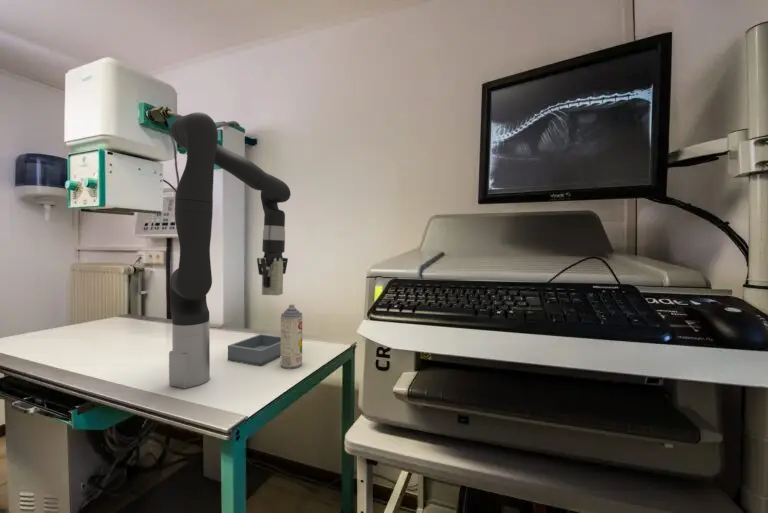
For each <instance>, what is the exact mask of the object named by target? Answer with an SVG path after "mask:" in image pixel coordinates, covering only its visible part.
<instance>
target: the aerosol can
mask: <svg viewBox="0 0 768 513" xmlns="http://www.w3.org/2000/svg"><path fill="white" fill-rule="evenodd" d="M280 315H281V316H280V337H281V357H280V368H281V369H284V370H285V369H286V370H293V369H298V368H301V366H303V313H302V312H300V311H299V309H297V308H296V307H295V304H293V303H290V304H289V305H288V308H286V310H284V312H283V313H281V314H280Z"/></svg>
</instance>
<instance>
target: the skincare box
mask: <svg viewBox="0 0 768 513" xmlns="http://www.w3.org/2000/svg"><path fill="white" fill-rule="evenodd" d="M273 265H274V266H273V271H271V275H270V287H269V288H266V287H264V286H263V276H262V275H261V295H262V296H281V295H283V292H284V291H283V289H284V274H283V261H274V264H273ZM266 267H267V268H269V266H267V265H266ZM262 271H263V269H262ZM267 273H268V270H267Z"/></svg>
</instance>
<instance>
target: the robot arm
mask: <svg viewBox="0 0 768 513" xmlns="http://www.w3.org/2000/svg"><path fill="white" fill-rule="evenodd" d="M216 124H217V123H216V122H215V121H214V120H213V118H212V117H211V116H210V115H208V114H207V113H204V112H199V111H197V112H192V113H189V114H186V115H183V116H180V117H178V118H175V119H174V120H173V121H172V123H171V125H170V134H171V136H172V138H173V140H174V141H175V143H177V145H178V146H180V147H181V148H183V149H185V150H186V162H185V166H184V169H183V172H182V175H181V176H180V179H179V182H178V185H177V187H176V190H175V196H174V198H175V199H174V222H175V228H176V233H177V237H178V238H177V239H178V243H179V258H178V260H179V262H178V267H177V269H175V270H174V271H173V273H172V274H171V277H170V279H169V300H170V301H169V302H170V304H169V305H170V308H169V309H170V313H171V314H170V315H171V323H172V328H171V329H172V331H171V332H172V346H171V347H172V350H170V351H169V353H168V374H169V376H168V382H169V383H168V384H169V386H172V387H175V388H181V389H183V390H184V389H188V388H192V387H196V386H200V385H203V384H205V383H207V382H209V380H210V374H211V373H210V372H211V370H210V369H211V366H210V364H211V362H210V359H211V358H210V357H211V356H210V352H211V351H210V350H211V349H210V348H211V347H210V344H211V343H210V342H211V340H210V338H211V337H210V327H211V326H210V310H209V308H208V303H207V295H208V293H209V292H210V291H211V288H212V285H213V276H212V266H211V265H212V264H211V240H212V230H213V229H212V228H213V227H212V226H213V209H214V206H213V205H214V204H213V203H214V194H213V193H214V176H215V175H214V172H215V170H214V169H215V165H216V166H217V167H219V168H221V169H223V170H224V171H225V172H228V173H230V174H231V175H232V176H234V177H235V178H236V179H238V180H240V181H241V182H242V183H244V184H245V185H246V186H248V187H250V188H251V189H253V190H255V191H260V200H261V201H260V202H261V205H262V206H261V207H262V210H263V213H264V218H263V219H264V220H263V230H262V249H261V250H262V252H263V256H262V257H257V258H256V263H257V264H256V265H257V270H258V275H259V276H261V277H262V276H263V286H264V287H266V288H269V287H270V275H271V271H273V266H274V265H273V264H274V261H283V275H284V274H286V272H287V266H288V260H289V259H288V257H284V256H283V254H284V253H285V248H286V247H285V246H286V228H285V227H286V214H285V212H284V210H282V209H280V208H279V205H278V204H280V203H285V202H287V201H288V200H289V199H290V198H291V189H290V187H289V186H288V185H287V183H286V182H284V181H283V180H282V179H280V178H278V177H276V176H274V175H272V174H269V173H267V172H265V170H263V169H262V168H260V167H259V166H258V165H257V164H255V163H254V162H253V161H252V160H250V159H249V158H246V157H244V156H242V155H240V154H238V153H236V152H233V151H231V150H229V149H227V148H225V147H224V146H222V145H220V144H219V142H218V141H219V135H218V134H219V133H218V127H217V125H216ZM266 265H267V266H269V268H267V267H266ZM262 269H263V271H262ZM267 270H268V273H267Z"/></svg>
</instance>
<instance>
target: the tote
mask: <svg viewBox="0 0 768 513" xmlns="http://www.w3.org/2000/svg"><path fill="white" fill-rule="evenodd" d="M280 356H281V336H280V335H279V336H278V335H271V334H265V333H264V334H262V333H260V334H257V335H254V336H251V337H249V338H246V339H245V338H244V339H243V340H239V341H237V342H234V343H231V344H229V345H227V361H229V360H231V361H230V362H235V361H237V362H236V363H240V362H243V363H242V364H246V363H248V364H247V365H251V364H253V365H252V366H257V365H258V367H262V366H264V365H267V364H269V363H271V362H273V361H275V360H277V359H279V358H281V357H280ZM276 358H277V359H276Z"/></svg>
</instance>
